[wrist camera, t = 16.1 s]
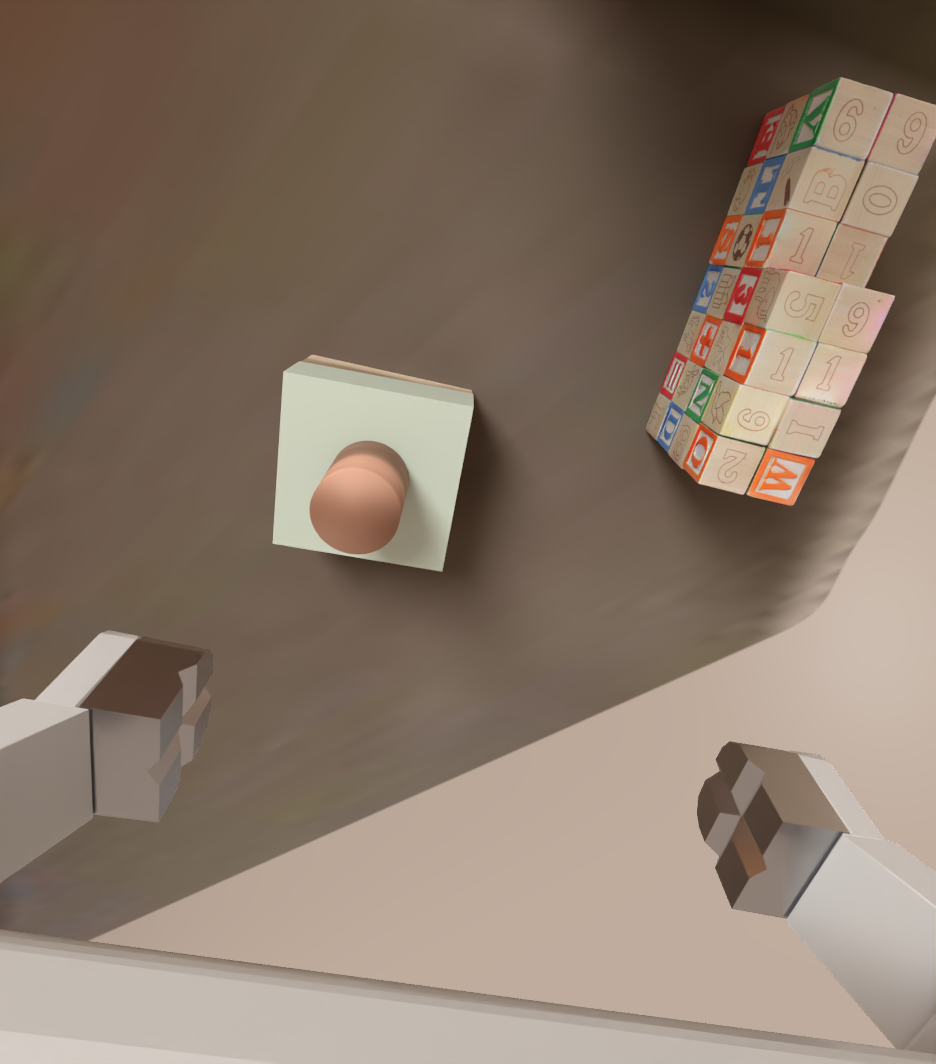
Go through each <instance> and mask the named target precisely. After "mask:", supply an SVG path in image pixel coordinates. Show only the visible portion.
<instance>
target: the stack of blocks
mask: <svg viewBox="0 0 936 1064" xmlns="http://www.w3.org/2000/svg"><path fill="white" fill-rule="evenodd" d="M935 139H936V105H934V104H930V103H927V102H924V101H920V100H917V99H914V98H911V97H908V96H905V95H902V94H899V93H898V94H893V93H890V92H888V91H885V90H882V89H879V88H876V87H872V86H869V85H865V84H862V83H859V82H856V81H853V80H850V79H846V78H842V77H840V78H837V79H835V80H833V81H831V82H829V83H826V84H824V85H822V86H820V87H818V88H816V89H813V90H812V91H811V93H810V94H807V95H804V96H802V97H800V98H798V99H795V100H793V101H791V102H789V103H787V105H784V106H782V107H779V108H777V109H774V110H772V111H770V112H768V113H767V114H766V115H765V117H764V120H763V123H762V126H761V128H760V131H759V134H758V137H757V139H756V142H755V145H754V148H753V150H752V153H751V156H750V159H749V161H748V164H747V167H746V168H745V169H744V171H743V173H742V176H741V179H740V181H739V184H738V187H737V189H736V192H735V195H734V197H733V200H732V203H731V205H730V208H729V211H728V214H727V217H726V219H725V221H724V223H723V226H722V229H721V231H720V234H719V237H718V239H717V242H716V244H715V247H714V250H713V252H712V255H711V257H710V260H709V266H708V268H707V271H706V274H705V276H704V279H703V282H702V284H701V287H700V290H699V292H698V295H697V297H696V300H695V303H694V305H693V310H692V312H691V314H690V317H689V319H688V322H687V325H686V327H685V330H684V333H683V335H682V338H681V341H680V343H679V346H678V349H677V351H676V352H675V354H674V357H673V359H672V361H671V364H670V367H669V370H668V372H667V375H666V377H665V380H664V383H663V385H662V388H661V390H660V393H659V395H658V397H657V400H656V403H655V405H654V408H653V410H652V413H651V416H650V418H649V421H648V423H647V426H646V431H647V432H648V433H649V434H650V435H651V436H652V437H653V438H654V439H655V440H657V441H658V443H659V444H660V445H661V446H662V447H663V448H664V449H665V450H666V452H667V453H669V456H670V457H671V458H672V459H673V460H674V462H675V463H676V464H677V465H678V466H679V467H680V468H681V469H684V470H686V471H687V472H688V473H689V474H690V476H691V477H692V478H693V479H694V480H695V481H696V482H697V483H699V484H702V485H706V486H710V487H714V488H718V489H722V490H726V491H730V492H734V493H737V494H742V495H743V494H744V493H745V494H747V495H749V496H751V497H755V498H759V499H763V500H768V501H772V502H776V503H781V504H785V505H790V506H792V505H794V503H795V501H796V499H797V497H798V495H799V493H800V491H801V489H802V487H803V485H804V483H805V481H806V479H807V477H808V475H809V472H810V470H811V468H812V466H813V464H814V462H815V459H816V458H818V457H819V456H820V455H821V453H822V451H823V449H824V447H825V445H826V443H827V440H828V438H829V436H830V434H831V432H832V430H833V428H834V426H835V424H836V421H837V419H838V417H839V415H840V412H841V410H840V408H841V407H842V406H844V405H845V404H846V401H847V399H848V397H849V396H850V393H851V391H852V389H853V387H854V385H855V383H856V381H857V378H858V376H859V374H860V372H861V370H862V368H863V366H864V364H865V362H866V359H867V353H868V352H869V351H870V349H871V347H872V345H873V343H874V341H875V339H876V337H877V335H878V332H879V330H880V328H881V326H882V324H883V322H884V320H885V318H886V316H887V314H888V311H889V309H890V307H891V305H892V303H893V301H894V299H895V296H894V295H890V294H886V293H882V292H878V291H874V290H870V289H866V288H865V287H866V285H867V283H868V281H869V279H870V276H871V274H872V272H873V270H874V268H875V266H876V264H877V262H878V259H879V257H880V255H881V253H882V251H883V249H884V247H885V245H886V242H887V240H888V238H889V237H890V236H891V235H892V233H893V231H894V229H895V227H896V225H897V223H898V220H899V218H900V216H901V214H902V212H903V210H904V208H905V206H906V204H907V201H908V199H909V197H910V195H911V193H912V191H913V189H914V187H915V184H916V182H917V180H918V177H919V176H918V173H919V172H920V170H921V168H922V166H923V164H924V162H925V160H926V158H927V156H928V154H929V151H930V149H931V147H932V145H933V143H934V141H935Z"/></svg>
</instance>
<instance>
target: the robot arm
mask: <svg viewBox="0 0 936 1064" xmlns="http://www.w3.org/2000/svg"><path fill="white" fill-rule="evenodd" d="M212 673H213V654H212V652H211V651H210V650H208V649H203V648H198V647H193V646H188V645H183V644H178V643H173V642H168V641H163V640H158V639H153V638H148V637H140V636H136V635H130V634H125V633H120V632H114V631H106V632H103V633H100V634H99V635H98V636H97V637H96V638H95V639H94V640H93V641H92V642H91V643H90V644H89V645H88V646H87V647H86V648H85V649H84V650H83V651H82V652H81V653H80V654H79V655H78V656H77V657H76V658H75V659H74V660H73V661H72V662H71V663H70V664H69V665H68V666H67V667H66V669H65V670H64V671H63V672H62V673H61V674H60V675H59V676H58V677H57V678H56V679H55V680H54V681H53V682H52V683H51V684H50V685H49V686H48V687H47V688H46V689H45V690H44V691H43V692H42V693H41V694H40V695H39V696H38V697H37V698H36V699H35V700H29V699H21V700H18V701H16V702H13V703H10V704H8V705H5V706H3V707H0V883H1V882H2V881H4V880H5V879H6V878H8V877H9V876H11V875H12V874H14V873H15V872H16V871H18V870H19V869H21V868H22V867H24V866H25V865H26V864H28V863H29V862H31V861H32V860H34V859H35V858H37V857H38V856H39V855H41V854H42V853H44V852H45V851H47V850H48V849H49V848H51V847H52V846H54V845H55V844H57V843H58V842H59V841H61V840H62V839H64V838H65V837H67V836H68V835H69V834H71V833H72V832H74V831H75V830H77V829H78V828H80V827H81V826H82V825H84V824H85V823H87V822H88V821H90V820H91V819H92V818H93V814H95V815H103V816H111V817H119V818H128V819H136V820H144V821H152V822H159V820H160V818H161V817H162V815H163V813H164V811H165V809H166V808H167V806H168V804H169V802H170V800H171V799H172V797H173V795H174V793H175V791H176V789H177V788H178V786H179V784H180V767H181V766H183V765H185V764H186V763H188V762H190V761H191V760H193V758H194V756H195V754H196V752H197V750H198V749H199V747H200V745H201V742H202V739H203V736H204V733H205V730H206V728H207V724H208V719H209V714H210V707H211V696H210V694H209V693H208V691H207V690H206V688H205V685H206V683H207V682H208V680H209V678H210V677H211V675H212ZM716 762H717V764H718V767H719V770H720V771H719V772H718V773H716V774H715V775H713V776H712V777H710V778H708V779H707V780H706V781H705V782H704V785H703V787H702V789H701V792H700V794H699V797H698V808H697V816H698V822H699V828H700V830H701V833H702V836H703V838H704V841H705V842H706V843H707V844H708V845H709V846H710V847H711V848H712V849H713V850H714V851H715V852H716V853H717V854H718V855H719V859H718V861H717V864H716V867H715V869H716V871H717V873H718V876H719V878H720V881H721V883H722V886H723V888H724V891H725V893H726V895H727V898H728V900H729V902H730V905H731V908H732V909H736V910H743V911H747V912H753V913H758V914H764V915H770V916H775V917H781V918H786V919H787V920H786V922H787V924H788V925H789V926H790V927H791V928H792V929H793V930H794V932H795V933H796V934H797V935H798V936H799V937H800V939H801V940H802V941H803V942H804V943H805V944H806V946H807V947H808V948H809V949H810V950H811V951H812V952H813V953H814V955H815V956H816V957H817V958H818V959H819V960H820V962H821V963H822V964H823V965H824V966H825V967H826V968H827V970H828V971H829V972H830V973H831V974H832V975H833V976H834V978H835V979H836V980H837V981H838V982H839V983H840V985H841V986H842V987H843V988H844V989H845V990H846V991H847V993H848V994H849V995H850V996H851V997H852V998H853V999H854V1001H855V1002H856V1003H857V1004H858V1005H859V1006H860V1007H861V1009H862V1010H863V1011H864V1012H865V1013H866V1014H867V1016H868V1017H869V1018H870V1019H871V1020H872V1021H873V1023H874V1024H875V1025H876V1026H877V1027H878V1028H879V1029H880V1031H881V1032H882V1033H883V1034H884V1035H885V1036H886V1037H887V1039H888V1040H889V1041H890V1042H891V1043H892V1044H893V1046H894V1047H895V1048H896V1049H894V1048H886V1047H879V1046H872V1045H864V1044H857V1043H849V1042H842V1041H834V1040H827V1039H820V1038H812V1037H805V1036H796V1035H789V1034H782V1033H774V1032H767V1031H759V1030H751V1029H743V1028H736V1027H729V1026H721V1025H714V1024H706V1023H698V1022H691V1021H683V1020H675V1019H668V1018H660V1017H652V1016H645V1015H638V1014H630V1013H622V1012H615V1011H607V1010H600V1009H593V1008H584V1007H577V1006H570V1005H562V1004H555V1003H546V1002H540V1001H533V1000H525V999H518V998H510V997H502V996H495V995H487V994H480V993H473V992H466V991H458V990H450V989H443V988H436V987H427V986H421V985H413V984H406V983H398V982H391V981H383V980H376V979H368V978H361V977H353V976H346V975H338V974H331V973H323V972H316V971H308V970H301V969H293V968H286V967H278V966H270V965H263V964H255V963H248V962H241V961H233V960H225V959H218V958H211V957H202V956H195V955H188V954H180V953H173V952H166V951H158V950H150V949H142V948H135V947H128V946H120V945H113V944H105V943H98V942H90V941H83V940H75V939H68V938H60V937H53V936H45V935H38V934H30V933H23V932H15V931H8V930H0V1064H936V872H934V871H933V870H932V869H930V868H929V867H928V866H926V865H925V864H924V863H922V862H921V861H920V860H918V859H917V858H916V857H914V856H913V855H912V854H910V853H909V852H908V851H906V850H905V849H904V848H902V847H901V846H899V845H898V844H897V843H896V842H892V841H886V840H885V839H884V838H883V836H882V835H881V833H880V832H879V831H878V829H877V828H876V826H875V825H874V824H873V822H872V821H871V819H870V818H869V817H868V815H867V814H866V813H865V811H864V810H863V808H862V807H861V805H860V804H859V803H858V801H857V800H856V799H855V797H854V796H853V794H852V793H851V791H850V790H849V789H848V787H847V786H846V785H845V783H844V782H843V780H842V779H841V778H840V776H839V775H838V773H837V772H836V770H835V769H834V768H833V766H832V765H831V763H830V762H829V761H828V760H826V759H825V758H823V757H822V756H820V755H816V754H809V753H802V752H796V751H783V750H777V749H772V748H766V747H760V746H754V745H748V744H742V743H736V742H729V743H727V744H726V745H725V746H723V747H722V749H721V751H720V753H719V754H718V756H717V758H716Z"/></svg>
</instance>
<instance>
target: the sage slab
mask: <svg viewBox="0 0 936 1064" xmlns="http://www.w3.org/2000/svg"><path fill="white" fill-rule="evenodd" d="M473 408H474V394H472V393H467V392H462V391H456V390H451V389H446V388H440V387H435V386H430V385H424V384H419V383H414V382H408V381H403V380H398V379H392V378H387V377H382V376H376V375H371V374H366V373H360V372H355V371H350V370H344V369H339V368H334V367H329V366H323V365H318V364H313V363H307V362H302V361H299V362H298V363H296V364H294V365H293V366H291V367H290V368H288V369H287V370H285V371H284V372H283V388H282V404H281V420H280V435H279V451H278V467H277V483H276V499H275V515H274V531H273V544H279V545H285V546H291V547H297V548H303V549H309V550H315V551H321V552H327V553H333V554H339V555H345V556H351V557H357V558H363V559H369V560H375V561H381V562H387V563H393V564H399V565H405V566H411V567H417V568H423V569H429V570H435V571H441V572H442V570H443V565H444V560H445V554H446V549H447V544H448V539H449V534H450V528H451V523H452V518H453V513H454V507H455V502H456V497H457V492H458V487H459V481H460V476H461V471H462V466H463V460H464V455H465V450H466V445H467V440H468V434H469V429H470V424H471V419H472V413H473ZM359 441H375V442H379V443H382V444H385V445H387V446H389V447H390V448H392V449H393V450H394V451H396V452H397V453H398V454H399V455H400V457H401V458H402V459H403V461H404V463H405V464H406V467H407V470H408V474H409V486H408V490H407V494H406V498H405V502H404V506H403V510H402V514H401V518H400V522H399V526H398V529H397V531H396V533H395V535H394V537H393V538H392V540H391V541H390V542H389V543H388V544H387V545H385V546H384V547H383V548H381V549H379V550H377V551H375V552H372V553H368V554H359V555H357V554H348V553H344V552H341V551H339V550H336V549H334V548H333V547H331V546H329V545H328V544H327V543H325V542H324V541H323V540H322V539H321V538H320V537H319V535H318V534H317V532H316V531H315V529H314V527H313V525H312V522H311V519H310V510H309V508H310V502H311V498H312V496H313V493H314V492H315V490H316V488H317V487H318V485H319V484H320V482H321V480H322V479H323V477H324V476H325V474H326V472H327V471H328V469H329V468H330V466H331V464H332V463H333V461H334V459H335V458H336V456H337V455H338V454H339V452H340V451H341V450H343V449H344V448H345V447H347V446H348V445H350V444H352V443H355V442H359Z"/></svg>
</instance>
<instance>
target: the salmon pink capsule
mask: <svg viewBox="0 0 936 1064" xmlns="http://www.w3.org/2000/svg"><path fill="white" fill-rule="evenodd" d="M408 486H409V474H408V470H407V467H406V464H405V463H404V461H403V459H402V458H401V457H400V455H399V454H398V453H397V452H396V451H394V450H393V449H392V448H390V447H389V446H387V445H385V444H382V443H379V442H375V441H359V442H355V443H352V444H350V445H348V446H347V447H345V448H344V449H343V450H341V451H340V452H339V454H338V455H337V456H336V458H335V459H334V461H333V463H332V464H331V466H330V468H329V469H328V471H327V472H326V474H325V476H324V477H323V479H322V480H321V482H320V484H319V485H318V487H317V488H316V490H315V492H314V493H313V496H312V498H311V502H310V508H309V510H310V519H311V522H312V525H313V527H314V529H315V531H316V532H317V534H318V535H319V537H320V538H321V539H322V540H323V541H324V542H325V543H327V544H328V545H329V546H331V547H333V548H334V549H336V550H339V551H341V552H344V553H348V554H357V555H359V554H368V553H372V552H375V551H377V550H379V549H381V548H383V547H384V546H385V545H387V544H388V543H389V542H390V541H391V540H392V538H393V537H394V535H395V533H396V531H397V529H398V526H399V522H400V518H401V514H402V510H403V506H404V502H405V498H406V494H407V490H408Z"/></svg>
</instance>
